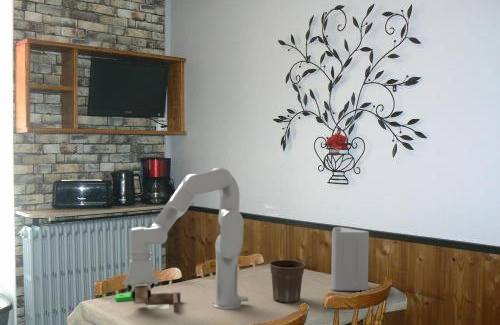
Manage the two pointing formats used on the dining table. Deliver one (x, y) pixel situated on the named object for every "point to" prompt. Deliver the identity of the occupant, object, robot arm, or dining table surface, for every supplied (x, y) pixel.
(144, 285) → the block
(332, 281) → the grey tall block
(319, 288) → the dining table surface
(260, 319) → the dining table surface
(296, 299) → the plant pot
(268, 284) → the dining table surface
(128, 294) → the mechanical part
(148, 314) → the dining table surface
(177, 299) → the arena
